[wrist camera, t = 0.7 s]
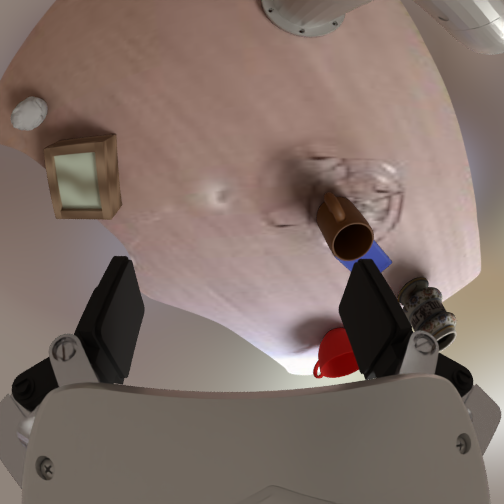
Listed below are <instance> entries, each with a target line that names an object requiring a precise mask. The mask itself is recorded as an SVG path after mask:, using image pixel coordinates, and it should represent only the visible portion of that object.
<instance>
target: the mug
mask: <svg viewBox="0 0 504 504" xmlns="http://www.w3.org/2000/svg"><path fill="white" fill-rule="evenodd" d="M324 201H325V202H324V203H323V204H322V205H321V206H320V208H319V210H318V212H317V223H318V226H319V228H320V230H321V232H322V234H323V236H324V238H325V240H326V242H327V244H328V246H329V248H330V250H331V251H332V253H333V254H334V256H335V257H337V258H338V259H340V260H343V261H353V260H356V259H359V258H361V257H362V256H364V255H365V254H366V253H367V252H368V251H369V250H370V248H371V246H372V244H373V240H374V233H373V230H372V228H371V227H370V225H369V223H368V222H367V220H366V219H365V218H364V217H363V215H362V214H361V213H360V212H359V210H358V209H357V208H356V207H355V206H354V205H353V203H352V202H351V201H349V200H348V199H346V198H343V197H335V195H334V194H333V193H331V192H328V193H326V194H325V195H324Z"/></svg>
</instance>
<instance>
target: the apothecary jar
mask: <svg viewBox="0 0 504 504" xmlns="http://www.w3.org/2000/svg"><path fill="white" fill-rule="evenodd" d="M398 302H399V303H402V305H404V307H403V311H404V313H405V315H406V316H407V318H408V320H409V322H410V324H411V325H412V327H413V329H414V331H415V332H416V331H425V332H428V333H429V334H431V335H432V336H433V337H434V338H435V339H436V341H437V342H438V345H439V352H441V351H442V350H444V349H445V348H447V347H448V346H449V345H450V344H451V343H452V342H453V341H454V340H455V338H456V335H457V334H456V331H455V326H456V317H455V315H454V314H453V313H450V312H446V310H445V308H444V306H443V305H442V294H441V292H440V291H439V290H438V289H437V288H434V287H428V281H427V279H425V278H416V279H414V280H412V281H410V282H409V283H407V284H406V285H405V286H404V287H403V288H402V290H401V291H400V293H399V295H398Z"/></svg>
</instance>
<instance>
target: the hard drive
mask: <svg viewBox="0 0 504 504" xmlns="http://www.w3.org/2000/svg"><path fill="white" fill-rule="evenodd" d="M335 258H336V259H338V258H337V257H335ZM359 259H372V260H373V261H374V263H375V264H376V266H377V267H378V269H379V270H380V272H382V271H383V270H385V269H386V268H387V267H388V266H389V265H390V264H391V263H392V261H391V260H390V259H389V257H388V256H387V255H386V254H385V252H384V251H383V250H382V249H381V248H380V246H379V245H378V244H377V243H376V242H375V241H374V240H373V244H372V246H371V248H370V250H369V251H368V252H367V253H366V254H365V255H364V256H362V257H361V258H359ZM359 259H356V260H353V261H343V260H340V259H338V260H339V261H340V262H341V263H342V264H343V265H344V266H345V267H346V268H348V269H349V270H350V271H352V268H353V265H354V263H355V262H357V261H358V260H359Z"/></svg>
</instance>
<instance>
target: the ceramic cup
mask: <svg viewBox="0 0 504 504" xmlns="http://www.w3.org/2000/svg"><path fill="white" fill-rule="evenodd" d="M318 359H319V360H318V361H317V363H316V365H315V367H314V370H313V374H314V376H315V377H316V378H322V377H323V376H325V377H329V378H336V377H342V376H345V375H349V374H351V373H353V372H355V371H357V370H359V368H358V365H357V362H356V359H355V356H354V353H353V350H352V347H351V344H350V342H349V339H348V336H347V333H346V330H345V328H336V329H333V330H331V331H329V332H328V333H327V334H326V335H325V337H324V338H323V340H322V342H321V344H320V347H319V352H318ZM318 367H320V372H321V374H320V375H319V376H318V375H317V370H318Z"/></svg>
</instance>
